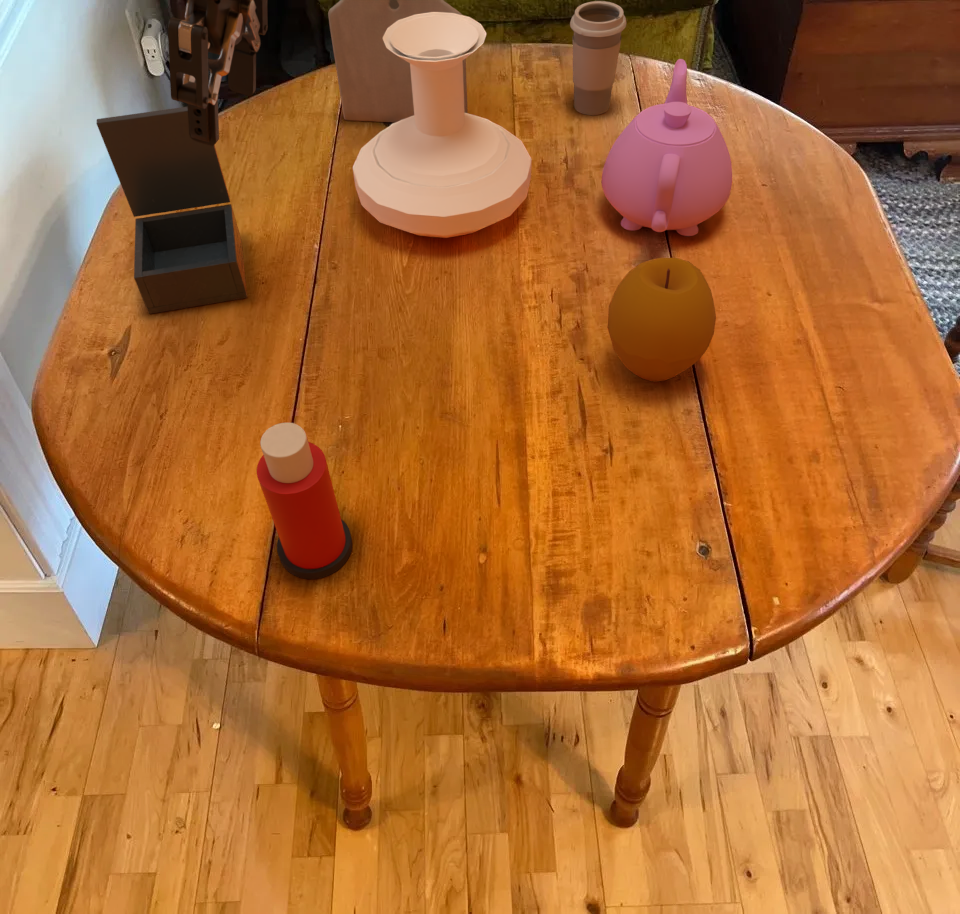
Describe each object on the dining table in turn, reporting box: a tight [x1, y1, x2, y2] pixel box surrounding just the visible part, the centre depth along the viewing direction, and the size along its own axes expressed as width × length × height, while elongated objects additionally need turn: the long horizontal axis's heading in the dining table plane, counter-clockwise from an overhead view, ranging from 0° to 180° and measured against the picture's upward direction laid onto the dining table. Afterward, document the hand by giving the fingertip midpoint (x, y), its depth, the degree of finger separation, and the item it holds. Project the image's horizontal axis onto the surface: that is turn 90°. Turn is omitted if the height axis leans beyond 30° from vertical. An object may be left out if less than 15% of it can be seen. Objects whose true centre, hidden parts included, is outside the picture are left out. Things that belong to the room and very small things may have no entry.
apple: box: [606, 257, 717, 383], centre depth 79 cm, size 10×10×12 cm
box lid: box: [96, 106, 231, 218], centre depth 89 cm, size 11×10×1 cm
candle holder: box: [351, 12, 533, 239], centre depth 94 cm, size 20×20×19 cm
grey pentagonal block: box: [327, 0, 469, 123], centre depth 107 cm, size 16×8×19 cm, turn 83°
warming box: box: [133, 203, 248, 315], centre depth 92 cm, size 10×10×5 cm
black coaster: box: [276, 518, 353, 580], centre depth 71 cm, size 6×6×1 cm
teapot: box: [600, 58, 733, 237], centre depth 95 cm, size 20×14×12 cm
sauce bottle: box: [256, 422, 346, 569], centre depth 66 cm, size 5×5×13 cm
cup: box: [569, 0, 627, 116], centre depth 109 cm, size 7×7×12 cm
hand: (223, 115), depth 73 cm, fingers open, 8 cm apart
